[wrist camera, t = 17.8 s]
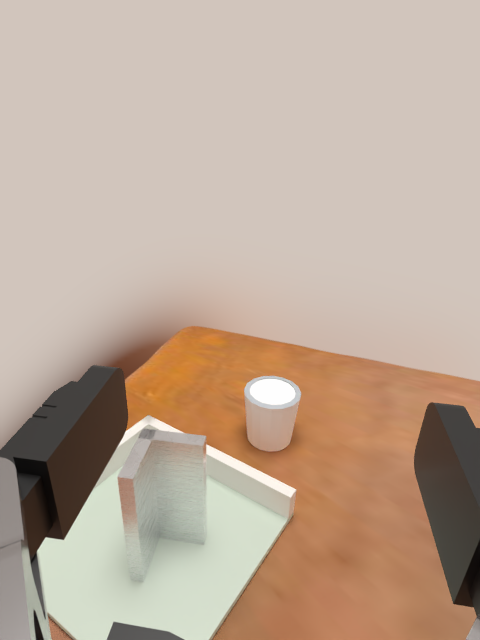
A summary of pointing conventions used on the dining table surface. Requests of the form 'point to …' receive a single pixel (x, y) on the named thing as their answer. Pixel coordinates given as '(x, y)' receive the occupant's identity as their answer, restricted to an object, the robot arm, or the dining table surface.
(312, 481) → the dining table surface
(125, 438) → the arena
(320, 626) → the dining table surface
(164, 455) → the bracket
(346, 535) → the dining table surface
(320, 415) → the dining table surface
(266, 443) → the white cup
